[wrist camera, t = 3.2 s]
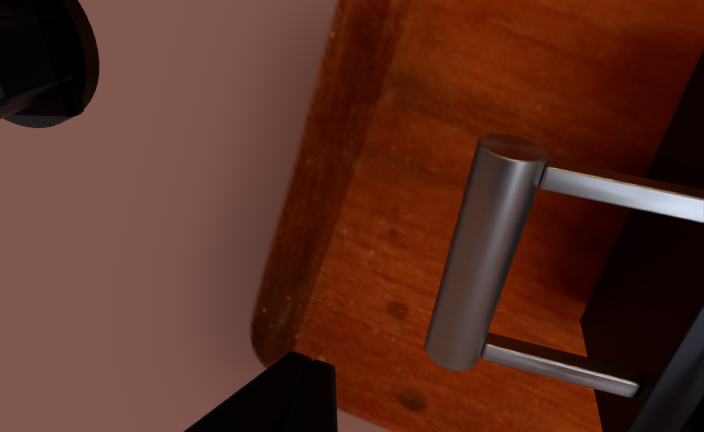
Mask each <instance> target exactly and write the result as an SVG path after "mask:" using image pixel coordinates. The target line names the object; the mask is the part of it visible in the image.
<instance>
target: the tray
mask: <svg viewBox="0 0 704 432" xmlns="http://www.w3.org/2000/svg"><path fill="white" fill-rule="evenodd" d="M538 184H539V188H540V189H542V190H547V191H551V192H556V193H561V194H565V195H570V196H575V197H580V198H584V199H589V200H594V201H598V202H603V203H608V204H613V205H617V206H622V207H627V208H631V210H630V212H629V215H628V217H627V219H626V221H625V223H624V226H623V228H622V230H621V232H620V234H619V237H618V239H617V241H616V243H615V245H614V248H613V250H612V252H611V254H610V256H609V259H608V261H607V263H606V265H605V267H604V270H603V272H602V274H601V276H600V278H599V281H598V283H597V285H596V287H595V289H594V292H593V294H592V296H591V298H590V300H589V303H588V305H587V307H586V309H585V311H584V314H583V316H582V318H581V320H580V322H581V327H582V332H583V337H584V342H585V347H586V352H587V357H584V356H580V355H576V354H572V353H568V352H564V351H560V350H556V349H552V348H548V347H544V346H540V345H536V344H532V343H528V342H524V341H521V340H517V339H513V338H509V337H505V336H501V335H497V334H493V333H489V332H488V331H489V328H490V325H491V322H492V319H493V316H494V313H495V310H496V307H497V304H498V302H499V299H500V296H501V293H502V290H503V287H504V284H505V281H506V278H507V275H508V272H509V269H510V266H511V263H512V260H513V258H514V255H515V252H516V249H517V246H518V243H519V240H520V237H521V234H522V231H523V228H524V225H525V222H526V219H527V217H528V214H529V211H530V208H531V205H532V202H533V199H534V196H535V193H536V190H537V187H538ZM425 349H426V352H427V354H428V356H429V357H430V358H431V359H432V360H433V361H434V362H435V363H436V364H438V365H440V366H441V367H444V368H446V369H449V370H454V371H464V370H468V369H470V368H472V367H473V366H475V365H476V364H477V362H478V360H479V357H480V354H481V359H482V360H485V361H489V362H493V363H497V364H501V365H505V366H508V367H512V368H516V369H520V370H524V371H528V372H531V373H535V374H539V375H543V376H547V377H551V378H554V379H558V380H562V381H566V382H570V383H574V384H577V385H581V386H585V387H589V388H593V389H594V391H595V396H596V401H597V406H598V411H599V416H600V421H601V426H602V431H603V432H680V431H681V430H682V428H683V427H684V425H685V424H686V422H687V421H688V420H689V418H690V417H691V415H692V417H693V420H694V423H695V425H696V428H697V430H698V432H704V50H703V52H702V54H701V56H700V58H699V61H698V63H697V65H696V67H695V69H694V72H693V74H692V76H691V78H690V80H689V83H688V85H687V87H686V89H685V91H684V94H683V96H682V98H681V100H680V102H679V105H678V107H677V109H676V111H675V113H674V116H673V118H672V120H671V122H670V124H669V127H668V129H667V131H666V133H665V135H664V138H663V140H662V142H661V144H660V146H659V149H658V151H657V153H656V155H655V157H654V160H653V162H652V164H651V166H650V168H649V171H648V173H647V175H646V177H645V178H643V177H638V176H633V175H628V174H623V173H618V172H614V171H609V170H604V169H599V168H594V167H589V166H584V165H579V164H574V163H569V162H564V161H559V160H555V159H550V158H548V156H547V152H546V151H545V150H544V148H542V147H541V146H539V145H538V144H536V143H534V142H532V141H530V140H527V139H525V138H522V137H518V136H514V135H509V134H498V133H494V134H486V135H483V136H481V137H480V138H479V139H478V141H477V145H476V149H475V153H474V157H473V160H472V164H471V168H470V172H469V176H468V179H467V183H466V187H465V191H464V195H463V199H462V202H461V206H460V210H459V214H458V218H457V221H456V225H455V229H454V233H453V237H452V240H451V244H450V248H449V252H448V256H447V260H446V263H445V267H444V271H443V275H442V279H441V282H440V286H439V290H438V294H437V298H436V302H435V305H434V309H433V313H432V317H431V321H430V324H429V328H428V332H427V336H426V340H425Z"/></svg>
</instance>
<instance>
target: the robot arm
mask: <svg viewBox="0 0 704 432" xmlns="http://www.w3.org/2000/svg"><path fill="white" fill-rule="evenodd" d="M70 102H71V103H72V104H73V106H74V108H73V107H72V106H71V104H70ZM84 109H85V107H84V102H83V99H82V95H81V92H80V89H79V85H78V82H77V78H76V75H75V72H74V68H73V65H72V62H71V58H70V55H69V51H68V48H67V45H66V41H65V38H64V35H63V31H62V28H61V25H60V21H59V18H58V14H57V11H56V8H55V4H54V1H53V0H0V119H2V118H4V117H7V116H9V115H27V116H57V117H75V116H78V115H80V114H82V112H84ZM184 432H338V429H337V401H336V374H335V367H334V366H333V365H331V364H328V363H326V362H323V361H320V360H313V361H312V359H311V358H310V357H308V356H306V355H303V354H300V353H297V352H289V353H288V354H286V355H285V356H284V357H282V358H281V359H280V360H278V361H277V362H276V363H274V364H273V365H272V366H270V367H269V368H268V369H266V370H265V371H264V372H263V373H261V374H260V375H258V376H257V377H256V378H255V379H253V380H252V381H250V382H249V383H248V384H246V385H245V386H244V387H242V388H241V389H240V390H238V391H237V392H236V393H234V394H233V395H232V396H231V397H229V398H228V399H226V400H225V401H224V402H222V403H221V404H220V405H218V406H217V407H216V408H215V409H213V410H212V411H211V412H209V413H208V414H206V415H205V416H204V417H202V418H201V419H200V420H198V421H197V422H196V423H194V424H193V425H192V426H190V427H189V428H188V429H186V430H185V431H184Z"/></svg>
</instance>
